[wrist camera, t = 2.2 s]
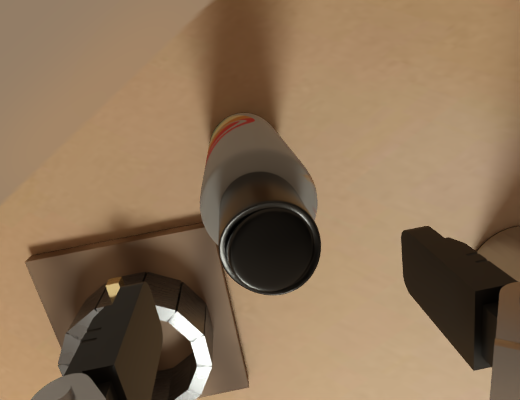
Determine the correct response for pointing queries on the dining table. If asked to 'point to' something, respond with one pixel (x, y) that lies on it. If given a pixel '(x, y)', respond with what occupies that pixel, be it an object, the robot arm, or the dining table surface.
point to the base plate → (146, 260)
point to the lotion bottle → (259, 207)
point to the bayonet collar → (170, 310)
